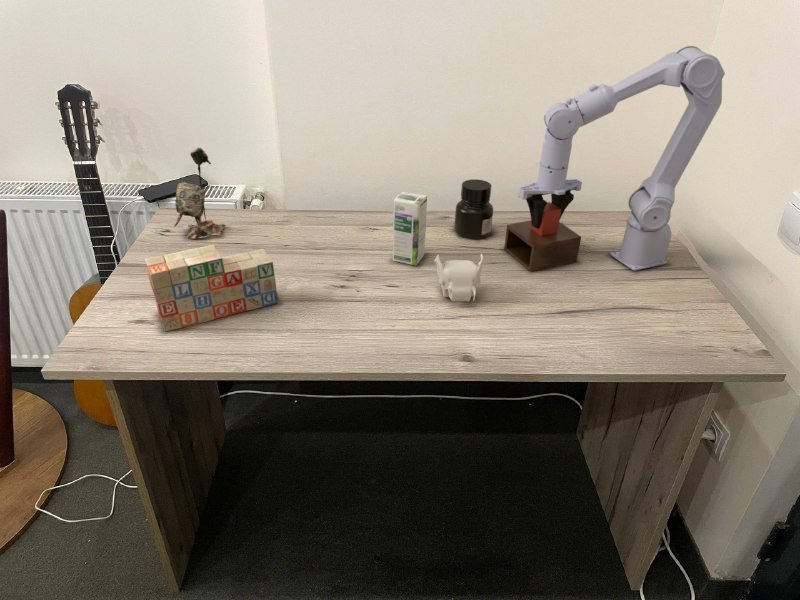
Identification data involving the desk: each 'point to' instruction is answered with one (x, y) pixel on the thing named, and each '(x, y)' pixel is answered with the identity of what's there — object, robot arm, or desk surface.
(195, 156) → the brown bird figurine
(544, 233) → the block
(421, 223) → the syrup box
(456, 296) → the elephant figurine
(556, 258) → the brown open wooden box
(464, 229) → the ink bottle
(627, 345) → the desk surface
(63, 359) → the desk surface
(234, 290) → the stack of blocks
